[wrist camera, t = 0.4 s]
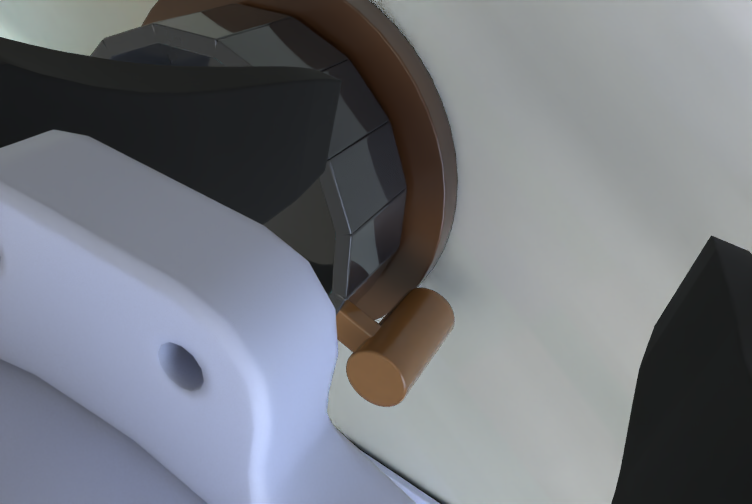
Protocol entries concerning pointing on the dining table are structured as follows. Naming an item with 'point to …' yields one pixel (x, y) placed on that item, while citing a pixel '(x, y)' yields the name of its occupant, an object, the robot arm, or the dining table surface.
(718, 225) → the dining table surface
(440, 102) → the turntable
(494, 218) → the dining table surface
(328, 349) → the robot arm
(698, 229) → the dining table surface
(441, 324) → the cooking pot
